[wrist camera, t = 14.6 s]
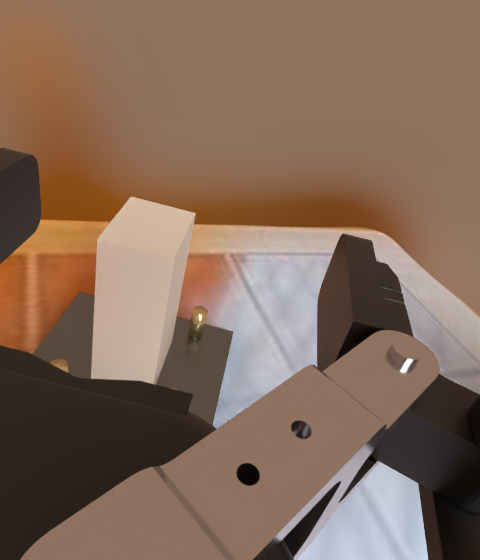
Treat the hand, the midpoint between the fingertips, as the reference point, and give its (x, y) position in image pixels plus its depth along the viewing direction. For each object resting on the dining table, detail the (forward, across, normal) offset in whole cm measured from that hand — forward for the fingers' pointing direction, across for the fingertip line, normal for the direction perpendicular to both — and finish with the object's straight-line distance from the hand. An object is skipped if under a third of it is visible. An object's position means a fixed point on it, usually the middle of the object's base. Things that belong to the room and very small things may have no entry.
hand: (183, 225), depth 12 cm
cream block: (+14, +5, +21) cm, 25 cm away
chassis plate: (+14, +5, +22) cm, 26 cm away
